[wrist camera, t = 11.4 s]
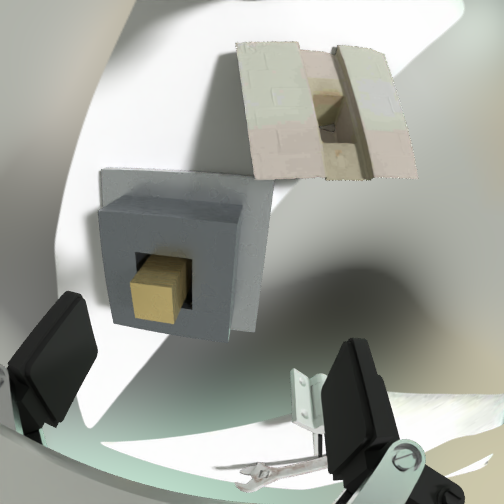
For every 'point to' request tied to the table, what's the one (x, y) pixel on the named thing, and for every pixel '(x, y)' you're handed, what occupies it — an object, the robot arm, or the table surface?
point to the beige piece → (323, 113)
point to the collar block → (187, 244)
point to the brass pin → (161, 288)
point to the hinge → (308, 405)
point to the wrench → (277, 473)
